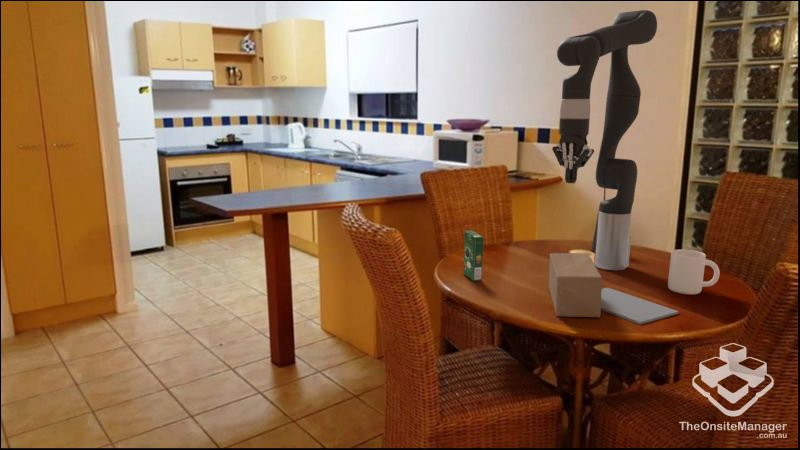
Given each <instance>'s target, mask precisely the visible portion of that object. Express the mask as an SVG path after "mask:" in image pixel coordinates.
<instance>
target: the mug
mask: <svg viewBox="0 0 800 450" xmlns="http://www.w3.org/2000/svg"><path fill="white" fill-rule="evenodd" d="M706 257H707V255H706V253H704V252H701V251H698V250H693V249H679V248H678V249H673V250H671V253H670V261H669V270H668V271H669V272H668V279H667V280H668V281H667V287H668V289H669V290H670V291H672V292H675V293H677V294H682V295H698V294H700V293H701V292H702V291H703V288H705V287H706V288H708V287H711V286H713V285H715V284H716V283H717V282H718V281H719V278H720V274H721V273H720V268H719V266H718V264H717V263H715V262H714V261H712V260H710V259H707V258H706ZM705 266H708V267H711V268H712V270H713V277H712V279H710V280H708V281H706V280H704V275H705V274H704V273H705Z"/></svg>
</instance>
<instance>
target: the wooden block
mask: <svg viewBox="0 0 800 450" xmlns="http://www.w3.org/2000/svg"><path fill="white" fill-rule="evenodd" d="M592 259H593V258H592V257H591V256H590V254H589V253H585V252H581V253H579V252H578V253H576V252H574V253H573V252H572V253H570V252H567V253H566V252H565V253H563V252H561V253H559V252H552V253H550V254H549V270H548V272H549V274H548V289H549V291H550V296H551V300H552V304H553V307H554V311H555V314H556V315H555V316H557V317H568V318H569V317H570V318H571V317H572V318H576V317H577V318H600V317H601V314H602V313H601V312H602V310H601V291H602V289H603V287H602V286H603V285H602V284H603V277H602V276H601V274H600V272H599V271H598V269H597V268H598V267H596V266H595V262H594V261H593V260H592Z"/></svg>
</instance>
